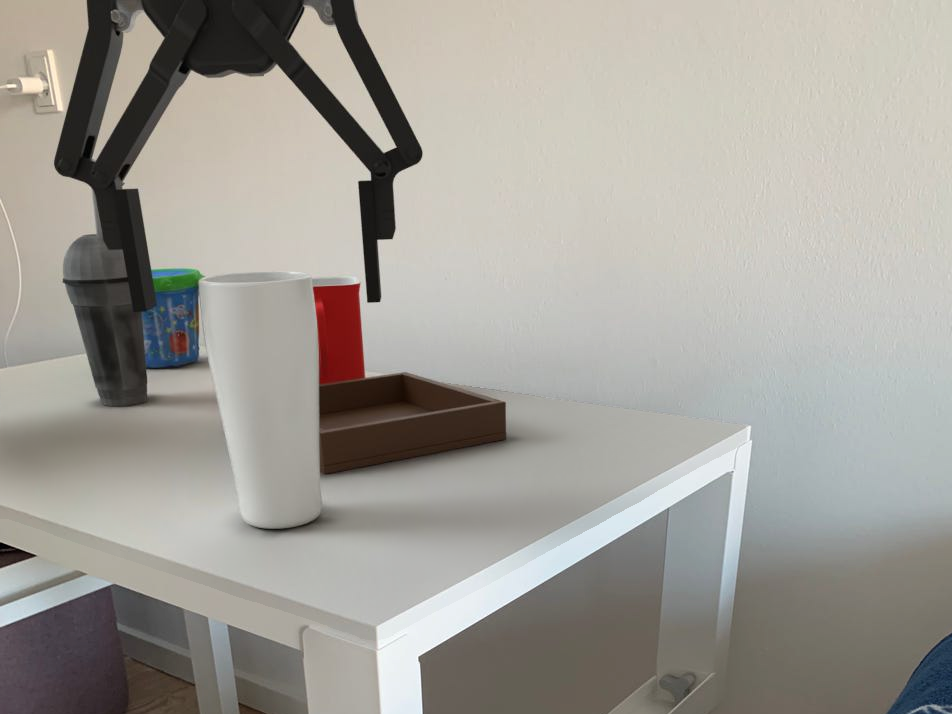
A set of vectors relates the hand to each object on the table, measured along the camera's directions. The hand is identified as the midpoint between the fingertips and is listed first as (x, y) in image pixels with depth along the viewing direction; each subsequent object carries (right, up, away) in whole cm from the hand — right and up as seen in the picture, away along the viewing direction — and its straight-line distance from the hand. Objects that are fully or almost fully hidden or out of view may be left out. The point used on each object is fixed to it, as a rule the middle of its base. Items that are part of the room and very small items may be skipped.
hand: (260, 305), depth 60 cm
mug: (-2, +4, +40) cm, 41 cm away
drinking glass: (0, -12, +6) cm, 14 cm away
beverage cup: (-22, +4, +40) cm, 46 cm away
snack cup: (-24, +13, +59) cm, 65 cm away
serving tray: (+4, -3, +25) cm, 26 cm away
